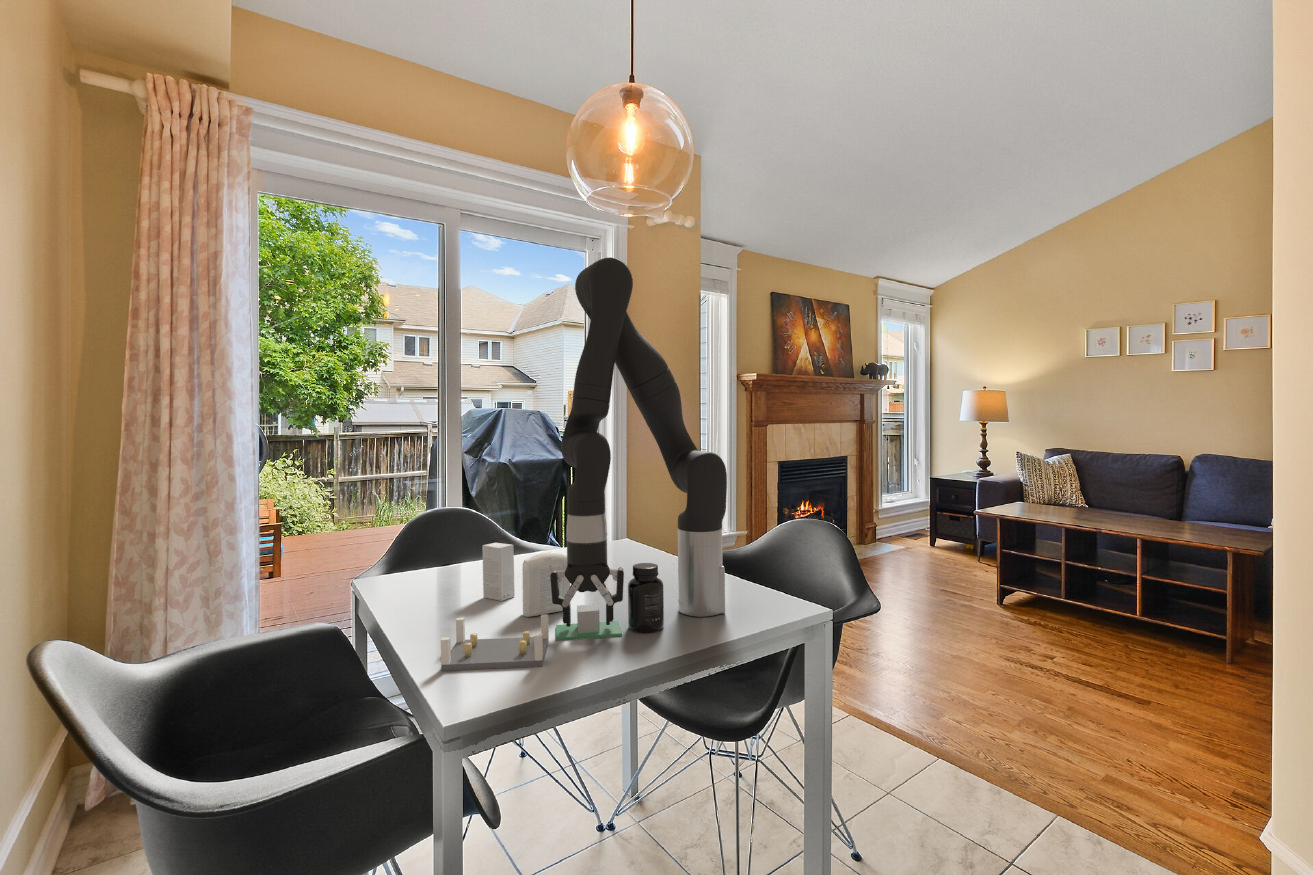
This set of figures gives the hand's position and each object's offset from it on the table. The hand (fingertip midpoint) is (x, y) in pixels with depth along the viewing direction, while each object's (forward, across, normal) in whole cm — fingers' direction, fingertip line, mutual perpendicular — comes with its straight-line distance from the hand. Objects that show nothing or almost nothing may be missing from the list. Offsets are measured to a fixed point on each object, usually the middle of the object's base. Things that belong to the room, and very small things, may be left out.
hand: (588, 624), depth 115 cm
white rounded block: (+2, +9, -13) cm, 16 cm away
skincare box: (+2, +21, -25) cm, 33 cm away
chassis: (+1, +15, +10) cm, 18 cm away
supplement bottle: (+2, -11, -1) cm, 11 cm away
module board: (+2, 0, 0) cm, 2 cm away
